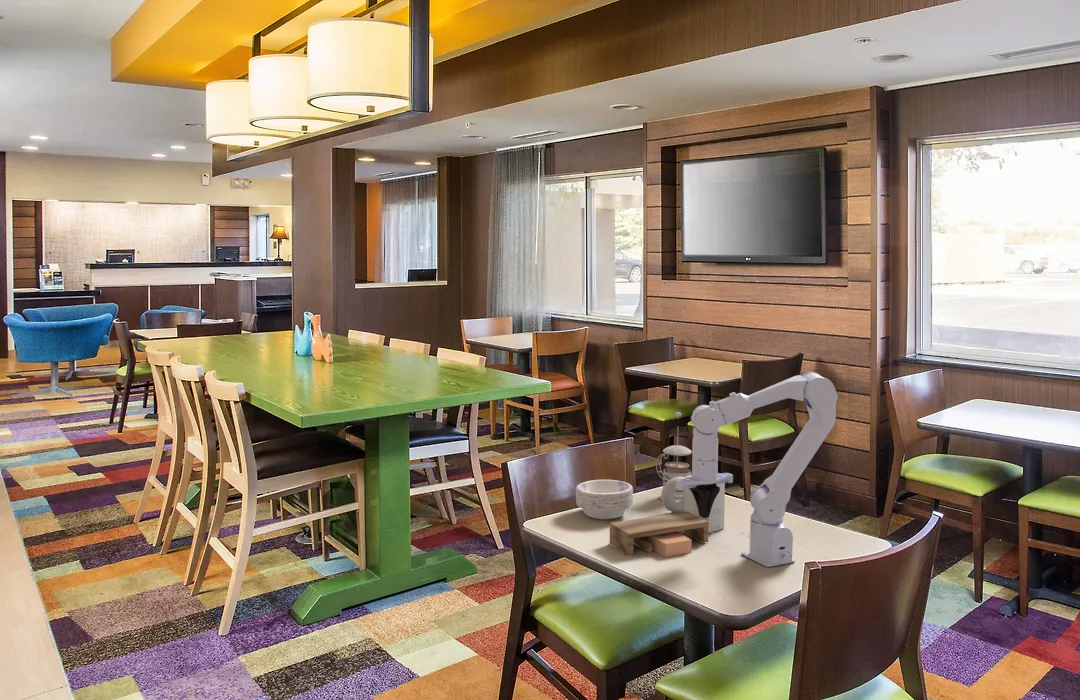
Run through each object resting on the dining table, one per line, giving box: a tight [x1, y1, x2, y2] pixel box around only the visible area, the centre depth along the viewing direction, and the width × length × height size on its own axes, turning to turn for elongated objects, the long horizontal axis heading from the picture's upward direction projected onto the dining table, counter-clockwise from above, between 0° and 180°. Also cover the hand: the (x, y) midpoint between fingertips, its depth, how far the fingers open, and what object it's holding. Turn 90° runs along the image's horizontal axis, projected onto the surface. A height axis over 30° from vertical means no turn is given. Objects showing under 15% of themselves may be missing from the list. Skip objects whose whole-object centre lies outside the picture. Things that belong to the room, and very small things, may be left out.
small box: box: [685, 475, 726, 534], centre depth 216 cm, size 8×6×13 cm
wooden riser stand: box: [609, 512, 709, 557], centre depth 205 cm, size 9×22×5 cm, turn 114°
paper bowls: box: [575, 479, 634, 520], centre depth 227 cm, size 15×15×8 cm
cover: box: [647, 532, 692, 557], centre depth 201 cm, size 8×7×3 cm
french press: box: [655, 411, 692, 501], centre depth 242 cm, size 10×12×25 cm
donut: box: [660, 477, 685, 514], centre depth 228 cm, size 10×4×10 cm, turn 105°
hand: (704, 516), depth 195 cm, fingers closed
